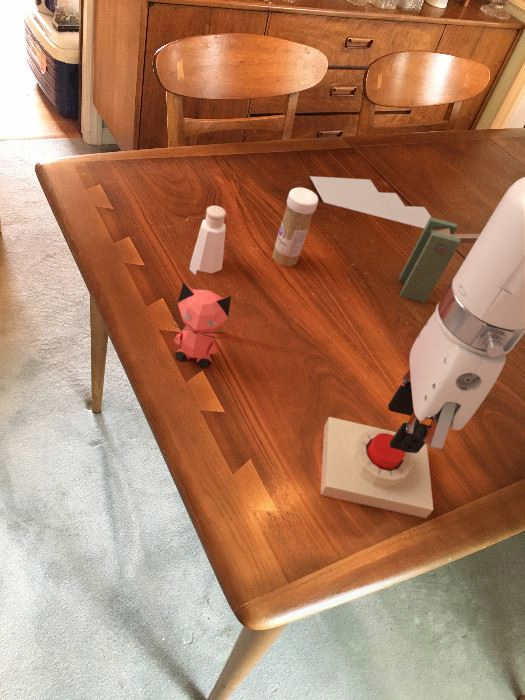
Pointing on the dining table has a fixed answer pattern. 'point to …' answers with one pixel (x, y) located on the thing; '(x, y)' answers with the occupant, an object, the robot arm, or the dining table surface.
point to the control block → (372, 471)
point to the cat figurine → (200, 323)
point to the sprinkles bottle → (294, 226)
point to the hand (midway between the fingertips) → (402, 428)
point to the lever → (457, 235)
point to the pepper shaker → (210, 242)
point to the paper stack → (368, 200)
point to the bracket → (428, 260)
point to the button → (384, 452)
